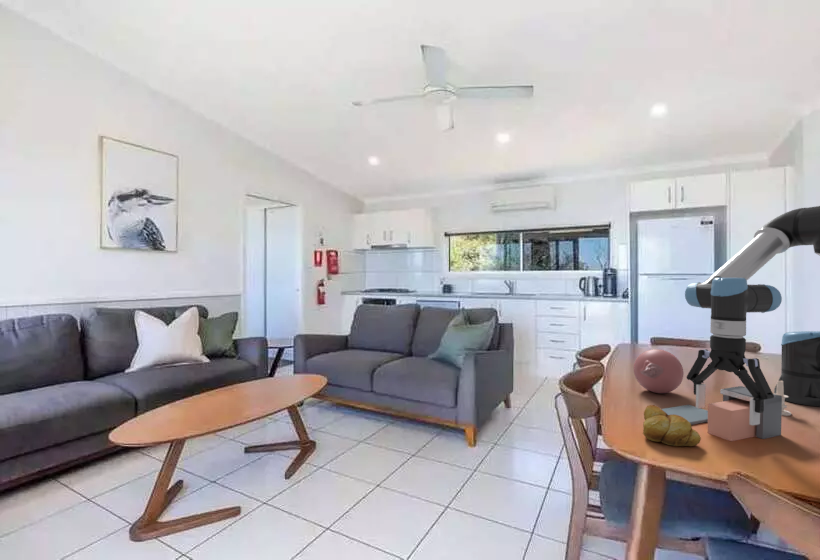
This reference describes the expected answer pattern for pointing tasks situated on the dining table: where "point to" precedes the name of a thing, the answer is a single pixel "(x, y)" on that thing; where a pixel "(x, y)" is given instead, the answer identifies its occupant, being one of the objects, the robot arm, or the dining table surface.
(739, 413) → the salmon pink rectangular block
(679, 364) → the balloon
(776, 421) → the box
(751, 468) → the dining table surface
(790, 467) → the dining table surface
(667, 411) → the mat
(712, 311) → the robot arm
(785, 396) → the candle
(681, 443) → the bread roll
